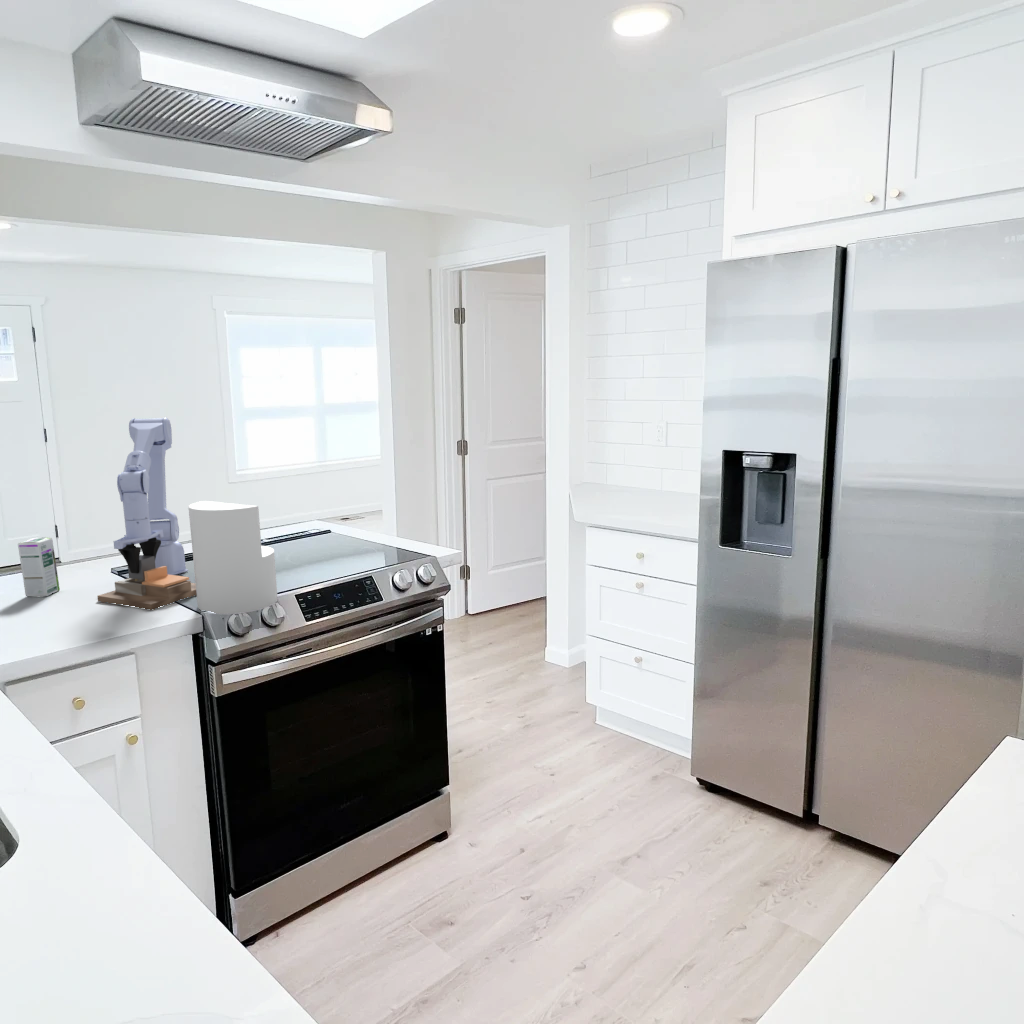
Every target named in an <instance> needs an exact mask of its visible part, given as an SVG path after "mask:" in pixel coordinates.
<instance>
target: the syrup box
mask: <svg viewBox="0 0 1024 1024" xmlns="http://www.w3.org/2000/svg"><path fill="white" fill-rule="evenodd" d="M17 547H18V555H19V562H20V567H21V574H22V575H21V576H22V580H23V581H22V582H23V587H24V595H25V597H26V596H47V597H49V596H51V595H53V594H54V593H57V592H59V591H60V583H59V575H58V569H57V563H56V562H57V561H56V556H55V555H56V554H55V548H54V542H53V537H34V538H33V537H31V538H29V539H28V540H24V541H22V542H18V543H17ZM52 593H53V594H52Z"/></svg>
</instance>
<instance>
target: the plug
mask: <svg viewBox="0 0 1024 1024" xmlns="http://www.w3.org/2000/svg"><path fill="white" fill-rule="evenodd" d="M155 568H156V567H155V557H154V556H146V555H143V554H140V556H139V573H131V572H130V569H129V567H128V566H127V571H128V578H132V579H135V581H138V579H145V575H144V571H148V570H151V569H155Z"/></svg>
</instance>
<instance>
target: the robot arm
mask: <svg viewBox="0 0 1024 1024" xmlns="http://www.w3.org/2000/svg"><path fill="white" fill-rule="evenodd" d="M128 431H129V433H128V434H129V438H130V440H131V441H132V442H133V451H131V452H130V453H129V454H128V455H127V457H126V461H125V464H124V468H123V471H121V473H119V474H118V475H117V477H116V478H117V479H116V486H117V490H118V493H119V499H120V502H122V508H123V509H122V510H123V517H124V526H125V528H124V529H125V534H124V536H123V537H121V538H119V539H116V540H113V549H116V550H117V551H118V552H119V553H120V554H121V556H122V557H123V558H124V561H125V562H126V564H127V568H128V567H129V569H130V572H131V573H139V556H140V555H141V552H142V555H146V556H154V557H155V567H156V568H158V567H162V566H167V575H168V574H169V575H176V576H178V575H179V574H182V573H185V572H188V571H189V569H188V568H186V558H185V550H184V546H183V544H182V543H181V542H180V541H178V540H179V538H180V527H179V526H180V525H179V521H178V519H179V518H178V516H177V515H176V513H175V512H173V511H171V510H169V509H168V508H167V486H166V481H167V480H166V460H165V459H166V451H168V450H169V449H171V448H172V444H173V440H172V439H173V433H172V424H171V420H170V419H169V418H168V417H167V416H166V417H165V416H164V417H155V418H154V417H151V418H150V417H149V418H135V417H133V418H131V419H130V421H129V423H128ZM136 545H139V546H140V547H139V546H136Z"/></svg>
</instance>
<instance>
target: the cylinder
mask: <svg viewBox="0 0 1024 1024" xmlns="http://www.w3.org/2000/svg"><path fill="white" fill-rule="evenodd" d="M187 509H188V516H189V517H188V518H189V529H190V539H191V540H190V541H191V549H192V551H191V552H192V558H193V561H192V562H193V569H194V570H193V571H194V581H195V582H194V583H196V594H197V595H196V602H197V609H198V608H199V609H201V610H206V611H211V612H214V613H216V614H215V615H237V614H246V613H251V612H256V611H260V610H263V609H265V608H269V607H271V606H273V605H274V604H276V603H277V602H278V600H277V597H278V584H277V583H278V582H277V572H276V571H277V570H276V560H275V559H276V558H275V549H274V548H272V547H270V546H267V545H262V539H261V526H260V525H261V524H260V512H259V511H260V510H259V505H252V504H240V503H230V502H221V501H211V500H200V501H197V502H193V503H191V504H189V505H188V508H187ZM199 609H198V610H199Z"/></svg>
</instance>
